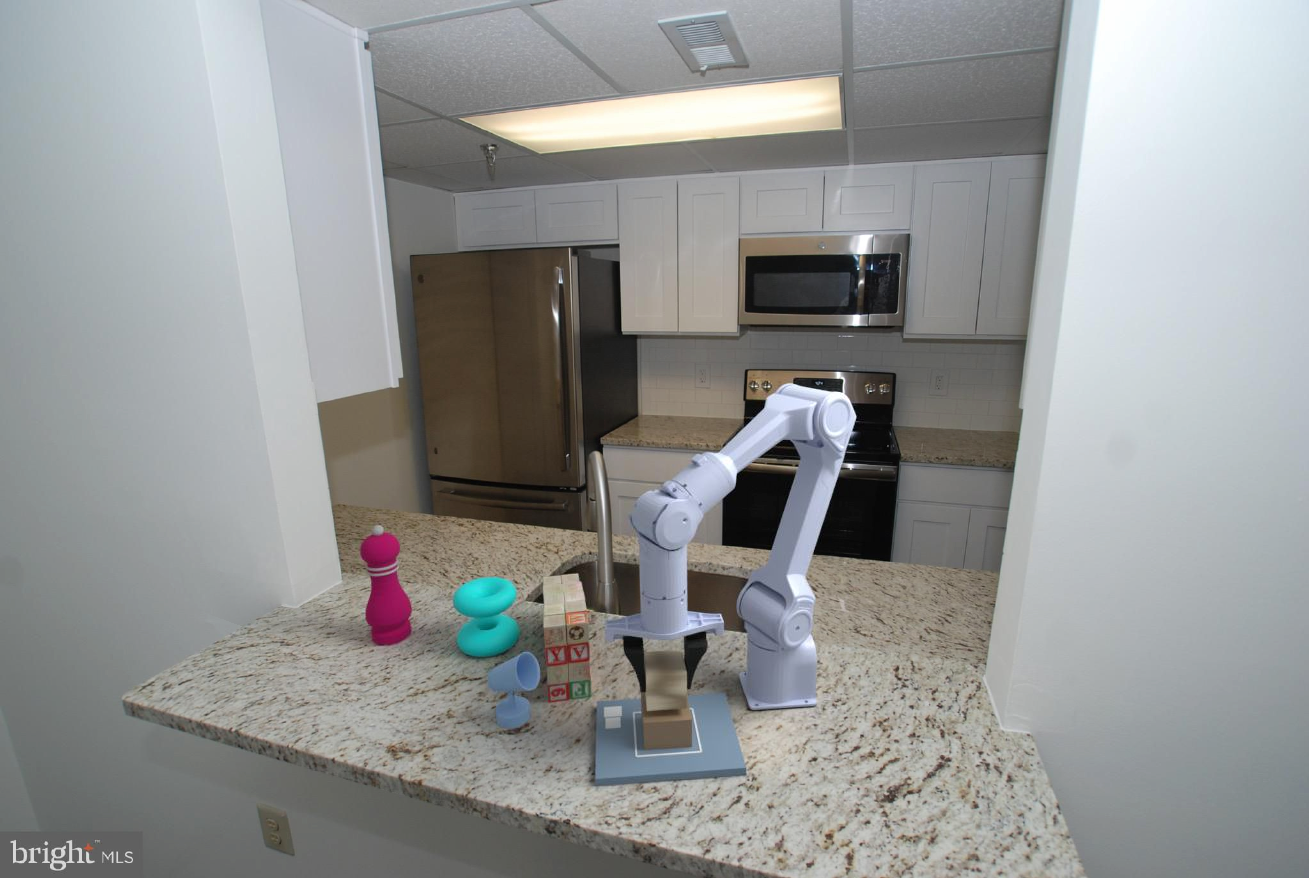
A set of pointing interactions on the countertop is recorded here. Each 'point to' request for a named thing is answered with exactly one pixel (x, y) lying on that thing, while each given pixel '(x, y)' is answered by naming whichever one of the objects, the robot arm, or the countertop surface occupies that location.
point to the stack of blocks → (566, 638)
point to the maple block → (665, 680)
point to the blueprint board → (669, 766)
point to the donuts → (486, 616)
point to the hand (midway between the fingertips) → (665, 686)
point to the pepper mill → (385, 589)
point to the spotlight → (514, 688)
